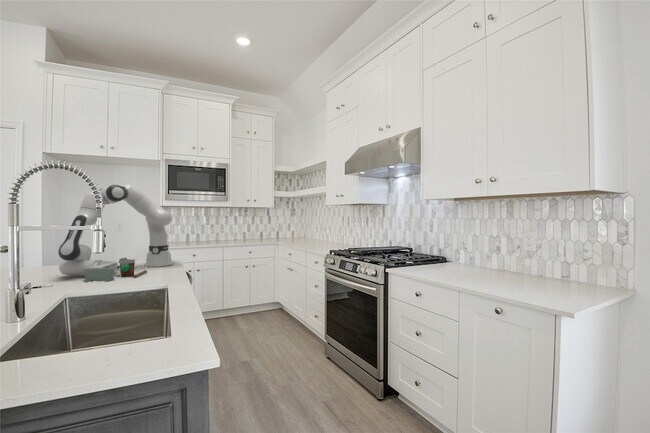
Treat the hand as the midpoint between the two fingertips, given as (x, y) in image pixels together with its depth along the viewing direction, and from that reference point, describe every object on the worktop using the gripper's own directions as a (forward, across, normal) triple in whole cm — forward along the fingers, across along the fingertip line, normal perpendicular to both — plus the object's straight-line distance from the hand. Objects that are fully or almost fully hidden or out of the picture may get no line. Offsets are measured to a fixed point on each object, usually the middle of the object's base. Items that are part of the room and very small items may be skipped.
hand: (118, 267), depth 188 cm
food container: (+4, -1, +5) cm, 7 cm away
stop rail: (+12, 0, +5) cm, 13 cm away
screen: (-4, -14, +5) cm, 16 cm away
